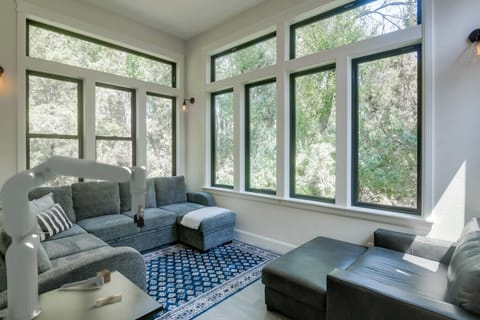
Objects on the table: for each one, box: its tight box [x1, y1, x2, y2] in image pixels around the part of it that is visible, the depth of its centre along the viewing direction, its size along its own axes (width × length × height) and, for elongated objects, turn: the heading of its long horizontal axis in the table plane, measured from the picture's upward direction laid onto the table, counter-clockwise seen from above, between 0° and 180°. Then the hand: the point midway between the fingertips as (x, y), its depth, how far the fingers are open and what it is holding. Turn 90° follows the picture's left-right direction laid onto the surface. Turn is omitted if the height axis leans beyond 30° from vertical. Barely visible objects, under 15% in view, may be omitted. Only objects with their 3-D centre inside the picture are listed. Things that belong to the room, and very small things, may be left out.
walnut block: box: [95, 269, 112, 286], centre depth 134 cm, size 5×5×5 cm
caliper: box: [60, 274, 105, 289], centre depth 127 cm, size 20×1×6 cm, turn 95°
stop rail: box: [96, 292, 123, 307], centre depth 115 cm, size 10×2×2 cm, turn 121°
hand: (138, 224), depth 128 cm, fingers open, 9 cm apart
